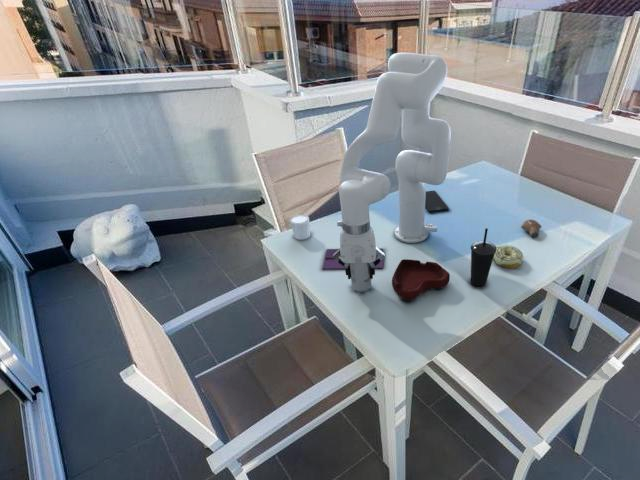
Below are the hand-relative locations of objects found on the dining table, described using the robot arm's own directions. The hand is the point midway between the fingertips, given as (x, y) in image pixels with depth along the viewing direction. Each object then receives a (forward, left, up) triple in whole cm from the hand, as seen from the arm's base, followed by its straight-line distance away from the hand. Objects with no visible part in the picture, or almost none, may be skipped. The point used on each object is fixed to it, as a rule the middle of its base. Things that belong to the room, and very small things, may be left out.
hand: (360, 275), depth 118 cm
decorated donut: (-49, -13, -5) cm, 51 cm away
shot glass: (+24, -31, -5) cm, 39 cm away
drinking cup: (-37, -1, -5) cm, 37 cm away
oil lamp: (-63, -32, -5) cm, 71 cm away
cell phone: (-27, -57, -4) cm, 63 cm away
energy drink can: (0, 0, -5) cm, 5 cm away
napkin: (+3, -15, -4) cm, 16 cm away
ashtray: (-17, -1, -5) cm, 18 cm away
